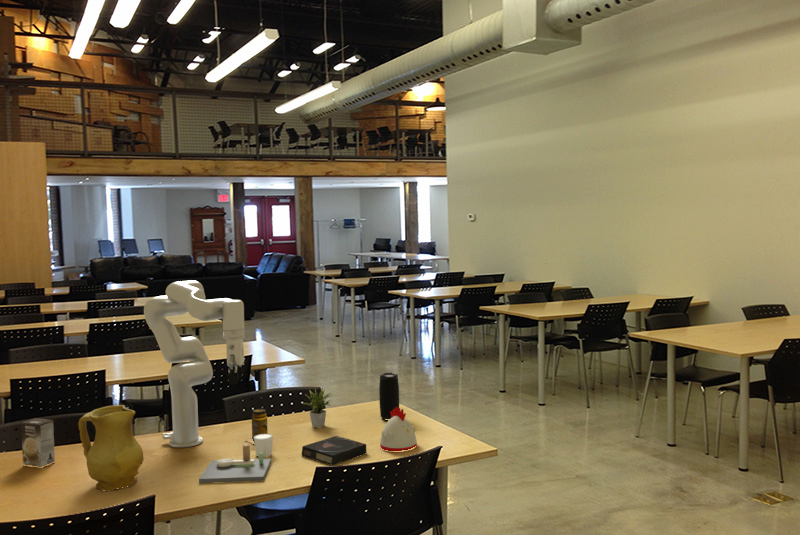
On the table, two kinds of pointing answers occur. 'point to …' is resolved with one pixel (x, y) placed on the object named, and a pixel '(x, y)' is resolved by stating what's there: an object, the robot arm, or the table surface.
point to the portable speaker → (388, 394)
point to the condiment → (259, 422)
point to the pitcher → (111, 447)
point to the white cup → (263, 444)
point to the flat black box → (334, 450)
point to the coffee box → (38, 442)
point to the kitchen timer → (398, 433)
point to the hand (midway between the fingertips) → (235, 380)
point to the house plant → (318, 408)
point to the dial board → (236, 472)
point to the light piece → (230, 462)
